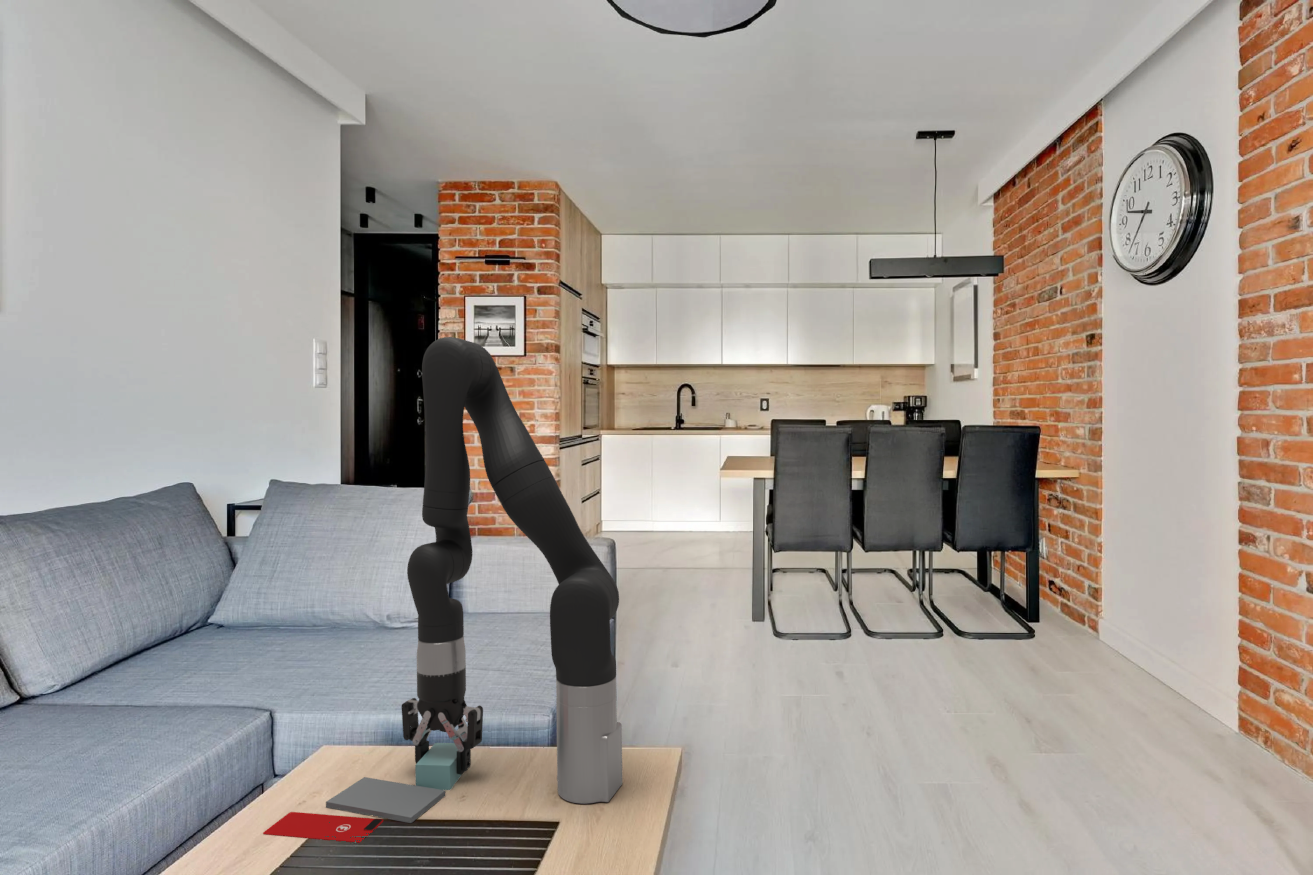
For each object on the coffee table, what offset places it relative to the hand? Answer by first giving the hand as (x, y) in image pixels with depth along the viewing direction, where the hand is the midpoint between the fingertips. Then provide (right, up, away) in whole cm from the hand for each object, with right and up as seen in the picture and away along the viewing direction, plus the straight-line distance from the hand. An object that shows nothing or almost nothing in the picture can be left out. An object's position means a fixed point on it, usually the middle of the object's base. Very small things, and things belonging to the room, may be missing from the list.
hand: (442, 768), depth 112 cm
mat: (-6, -1, -7) cm, 10 cm away
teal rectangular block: (0, -2, 0) cm, 2 cm away
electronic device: (-12, -2, -14) cm, 19 cm away
